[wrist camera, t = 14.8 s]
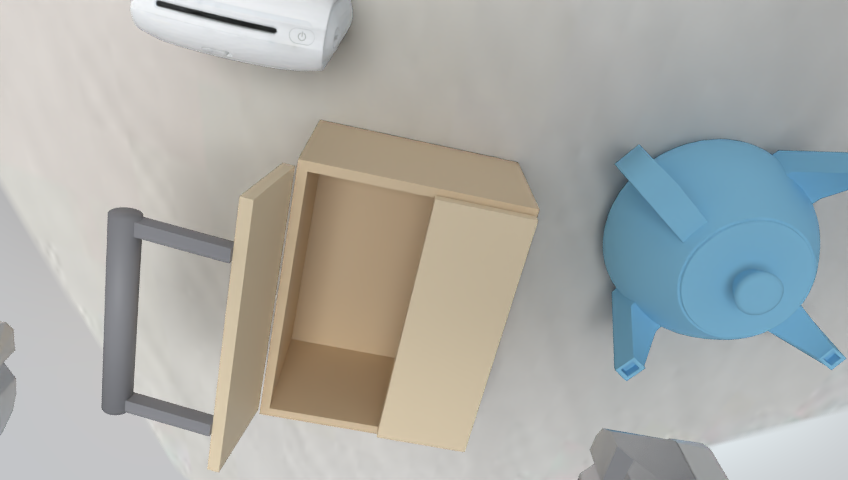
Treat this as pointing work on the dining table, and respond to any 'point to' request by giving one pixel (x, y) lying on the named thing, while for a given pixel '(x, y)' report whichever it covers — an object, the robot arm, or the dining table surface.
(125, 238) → the far flap
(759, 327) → the teapot
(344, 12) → the photo printer
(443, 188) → the carton
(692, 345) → the dining table surface
